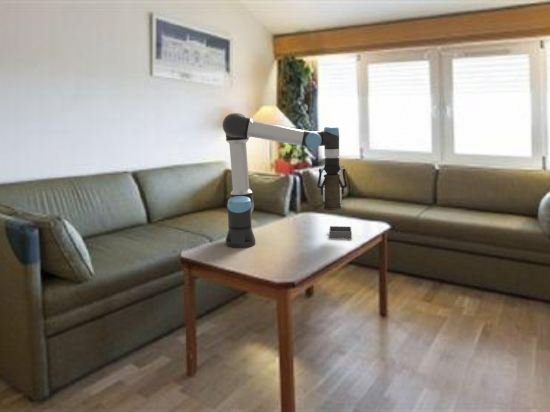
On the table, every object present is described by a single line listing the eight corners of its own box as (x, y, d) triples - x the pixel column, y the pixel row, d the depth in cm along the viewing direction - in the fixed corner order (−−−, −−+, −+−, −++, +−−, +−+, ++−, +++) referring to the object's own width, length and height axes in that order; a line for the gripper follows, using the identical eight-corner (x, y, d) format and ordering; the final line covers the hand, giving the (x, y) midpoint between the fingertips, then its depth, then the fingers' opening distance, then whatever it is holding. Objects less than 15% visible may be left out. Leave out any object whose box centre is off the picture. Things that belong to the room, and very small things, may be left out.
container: (340, 210, 237) (340, 175, 233) (322, 210, 238) (322, 175, 235) (341, 207, 245) (341, 173, 242) (324, 207, 247) (324, 173, 244)
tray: (329, 237, 242) (329, 231, 241) (329, 232, 253) (329, 226, 253) (351, 238, 240) (351, 231, 240) (350, 232, 252) (351, 226, 251)
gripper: (311, 158, 235) (311, 202, 239) (352, 157, 231) (352, 202, 236) (312, 156, 242) (312, 199, 246) (352, 156, 239) (352, 199, 243)
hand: (332, 200), depth 241 cm, fingers closed on container, 8 cm apart
